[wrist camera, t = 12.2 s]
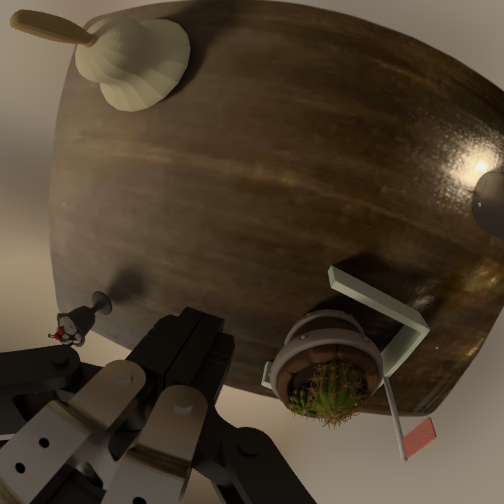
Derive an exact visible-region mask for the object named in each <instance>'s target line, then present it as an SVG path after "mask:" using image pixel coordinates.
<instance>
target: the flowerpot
mask: <svg viewBox="0 0 504 504" xmlns="http://www.w3.org/2000/svg"><path fill="white" fill-rule="evenodd" d="M284 343H285V346H284V347H283V348H282V349H281V351H280V352H279V353H278V355H277V356H276V358H275V360H274V362H273V364H272V367H271V371H270V372H269V373H268V376H270V382H271V387H272V390H273V391H274V393H275V394H276V396H277V397H279V399H280V400H281V402H282V403H283V404H284V405H285V406H286V408H288V409H289V410H290V411H292V412H293V413H297V414H299V415H301V416H307V417H311V418H316V417H317V418H318V419H319V418H324V419H325V418H326V419H325V422H326V423H327V424H328V423H330V422H331V423H333V424H334V428H335V425H336V423H337V422H338V421H339V424H340V423H341V422H340V421H343V422H347V421H344V420H343V419H346V418H347V415H349V416H350V419H351V416H352V414H353V413H354V414H355V412H356V413H357V411H358V410H360V409H361V408H362V407H363V405H364V404H366V403H367V402H368V401H369V399H370V397H371V396H372V395H373V394H374V393H375V392H376V390H377V389H378V388H379V386H380V384H381V382H382V379H383V377H384V375H383V374H384V367H383V360H382V357H381V354H380V352H379V350H378V348H377V347H376V345H375V344H374V343H373V342H372V341H371V340H370V339H369V338H368V337H366V336H365V334H364V331H363V329H362V327H361V326H360V324H359V323H358V322H357V321H356V319H355V318H353V315H352V314H347V313H345V312H343V311H339V310H332V309H325V310H317V311H314V312H311V313H308V314H306V315H305V316H303V317H302V318H300V319H299V320H298V321H297V322H296V323H295V324H294V326H293V327H292V328H291V330H290V332H289V334H288V335H287V338H286V340H285V341H284ZM359 414H360V413H359ZM356 415H357V414H356ZM349 416H348V417H349ZM354 416H355V415H354ZM342 417H344V418H343V419H342ZM327 418H328V422H327V421H326V420H327ZM307 419H308V418H307ZM333 419H334V422H332V421H333ZM321 420H322V419H321ZM326 423H325V424H326ZM327 424H326V425H327ZM324 426H325V425H324Z"/></svg>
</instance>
